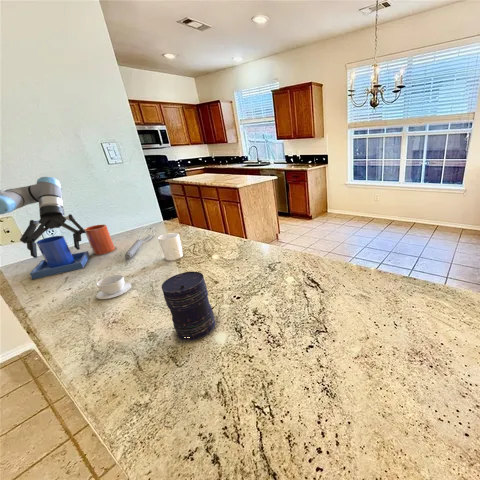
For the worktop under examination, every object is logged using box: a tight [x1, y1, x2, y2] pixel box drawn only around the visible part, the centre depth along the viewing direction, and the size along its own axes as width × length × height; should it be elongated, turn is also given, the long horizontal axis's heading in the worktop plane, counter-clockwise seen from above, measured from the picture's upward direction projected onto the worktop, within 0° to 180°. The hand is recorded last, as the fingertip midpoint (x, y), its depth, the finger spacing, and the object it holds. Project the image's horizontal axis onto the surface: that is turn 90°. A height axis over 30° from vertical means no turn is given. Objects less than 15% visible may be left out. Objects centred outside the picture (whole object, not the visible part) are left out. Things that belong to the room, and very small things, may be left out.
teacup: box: [95, 274, 132, 300], centre depth 90 cm, size 10×10×5 cm
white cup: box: [157, 232, 184, 261], centre depth 113 cm, size 8×8×10 cm
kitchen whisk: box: [123, 224, 157, 260], centre depth 127 cm, size 6×34×6 cm, turn 14°
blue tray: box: [29, 250, 90, 280], centre depth 111 cm, size 16×14×3 cm
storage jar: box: [160, 271, 216, 342], centre depth 68 cm, size 10×10×18 cm
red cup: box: [83, 223, 116, 256], centre depth 122 cm, size 8×8×12 cm
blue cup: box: [36, 235, 75, 268], centre depth 109 cm, size 8×8×12 cm
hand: (56, 252), depth 109 cm, fingers open, 13 cm apart
